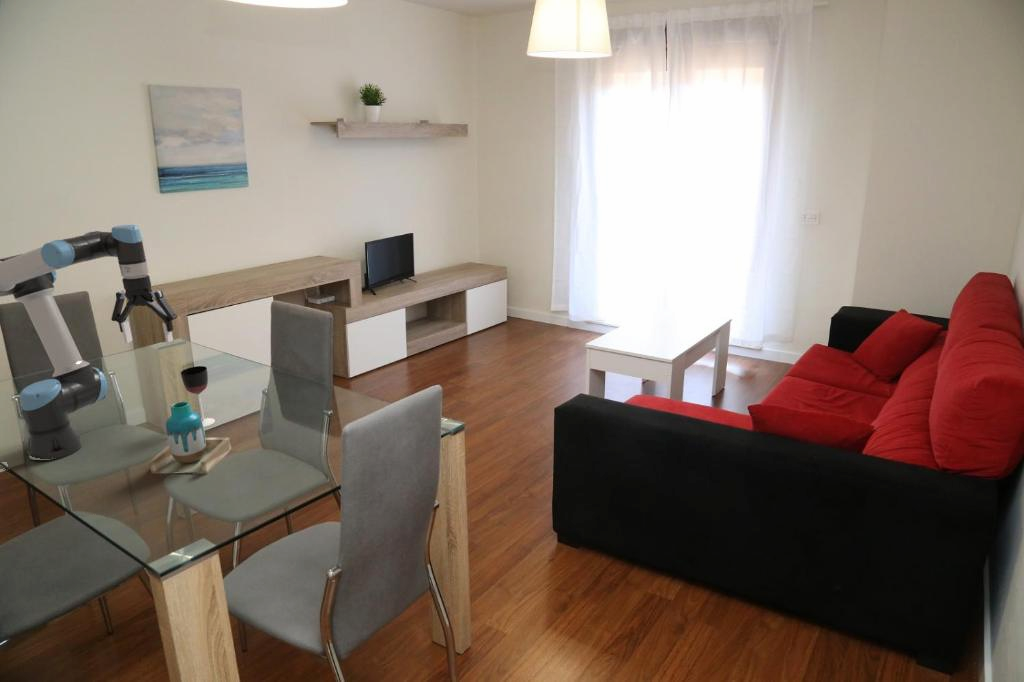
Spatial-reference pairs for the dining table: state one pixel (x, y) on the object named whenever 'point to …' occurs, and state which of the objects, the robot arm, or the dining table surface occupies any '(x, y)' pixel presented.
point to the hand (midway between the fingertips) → (149, 341)
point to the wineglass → (197, 386)
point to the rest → (204, 465)
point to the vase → (185, 433)
